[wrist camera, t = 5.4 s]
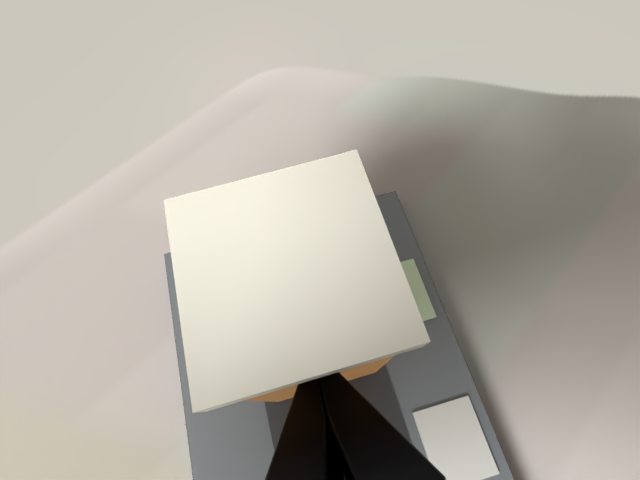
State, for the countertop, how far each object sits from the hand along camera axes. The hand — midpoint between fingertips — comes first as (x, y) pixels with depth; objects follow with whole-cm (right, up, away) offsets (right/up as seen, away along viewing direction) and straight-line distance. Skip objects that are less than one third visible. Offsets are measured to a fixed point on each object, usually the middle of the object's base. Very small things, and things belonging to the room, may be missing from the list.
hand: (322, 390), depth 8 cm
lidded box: (0, 0, +6) cm, 6 cm away
